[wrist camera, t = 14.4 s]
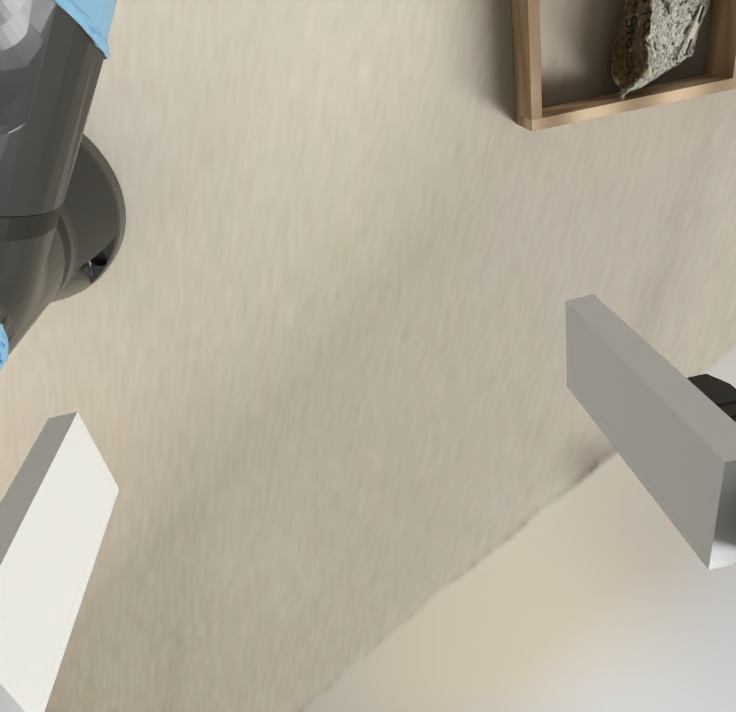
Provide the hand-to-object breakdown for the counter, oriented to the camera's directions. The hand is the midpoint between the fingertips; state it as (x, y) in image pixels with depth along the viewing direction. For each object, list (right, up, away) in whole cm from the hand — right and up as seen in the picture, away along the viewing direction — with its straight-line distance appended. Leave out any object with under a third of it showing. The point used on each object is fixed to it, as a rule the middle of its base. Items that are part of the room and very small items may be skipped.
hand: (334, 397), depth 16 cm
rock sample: (+23, +28, +30) cm, 47 cm away
